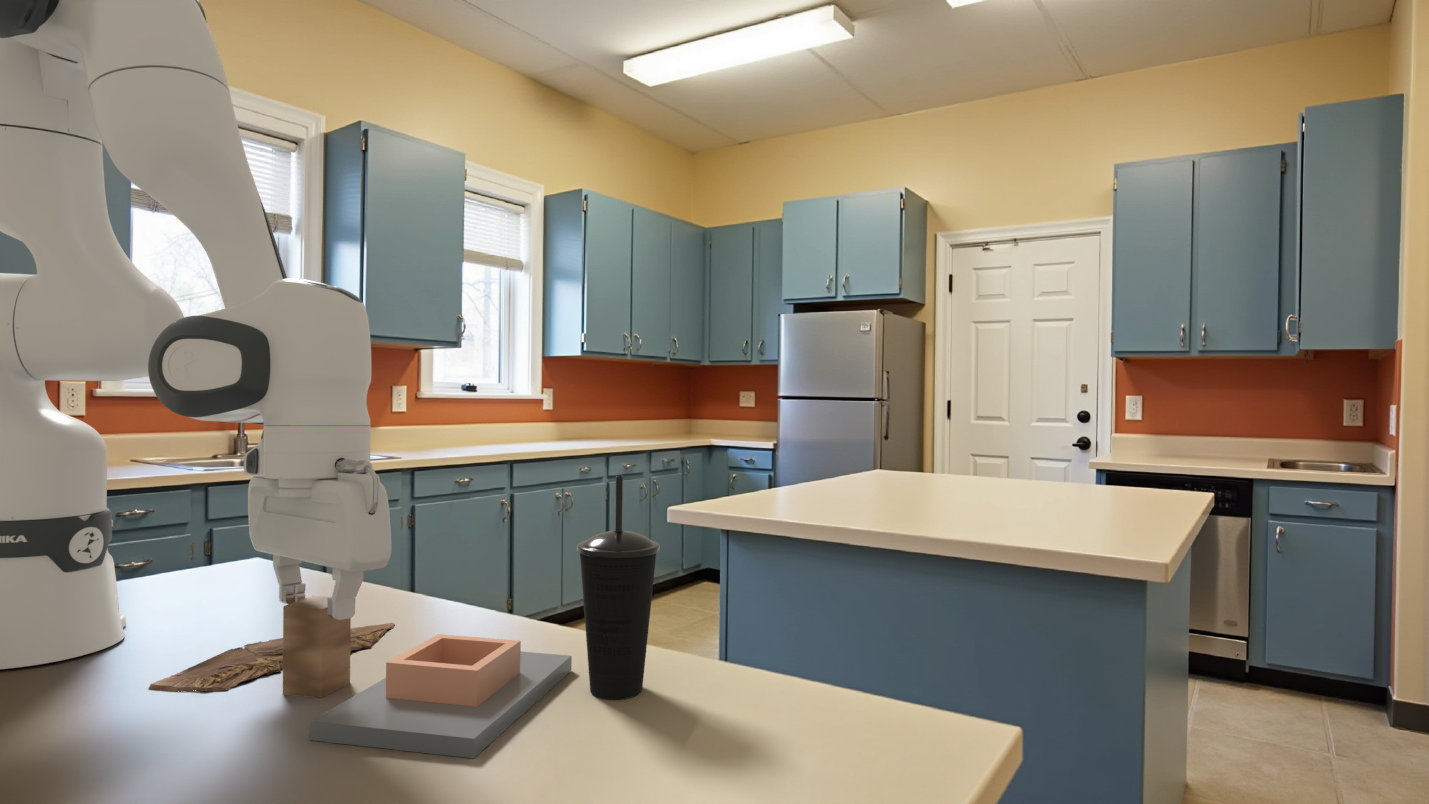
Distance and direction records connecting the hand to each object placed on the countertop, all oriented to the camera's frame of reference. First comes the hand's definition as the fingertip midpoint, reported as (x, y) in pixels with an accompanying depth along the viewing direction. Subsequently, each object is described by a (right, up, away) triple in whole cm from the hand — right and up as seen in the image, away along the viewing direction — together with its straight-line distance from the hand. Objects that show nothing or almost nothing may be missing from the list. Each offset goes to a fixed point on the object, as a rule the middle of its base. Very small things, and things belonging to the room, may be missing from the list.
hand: (315, 610), depth 74 cm
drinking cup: (+27, -8, +2) cm, 28 cm away
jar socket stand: (+13, -8, -1) cm, 15 cm away
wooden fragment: (-8, -8, +11) cm, 16 cm away
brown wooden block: (0, -8, +1) cm, 8 cm away
